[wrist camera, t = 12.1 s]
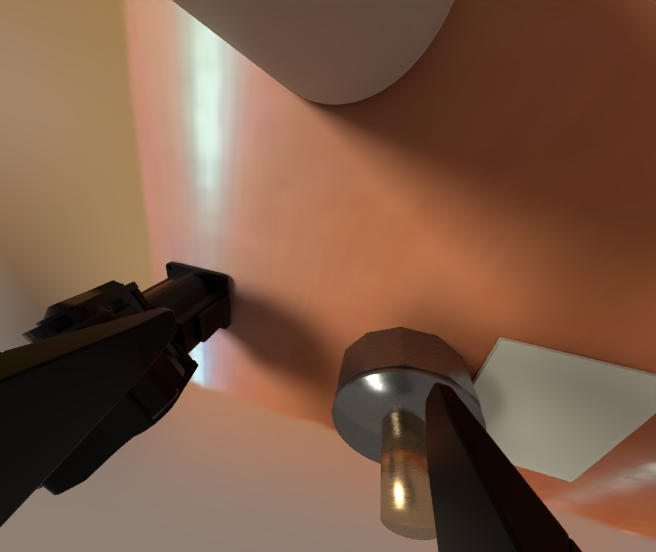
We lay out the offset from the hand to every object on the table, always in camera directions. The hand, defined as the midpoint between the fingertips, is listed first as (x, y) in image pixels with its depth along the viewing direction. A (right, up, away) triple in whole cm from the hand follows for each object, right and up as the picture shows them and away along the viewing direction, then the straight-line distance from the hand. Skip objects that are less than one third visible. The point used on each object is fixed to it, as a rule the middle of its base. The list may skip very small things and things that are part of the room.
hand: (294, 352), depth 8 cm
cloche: (+8, -8, +16) cm, 20 cm away
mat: (+21, -11, +15) cm, 28 cm away
